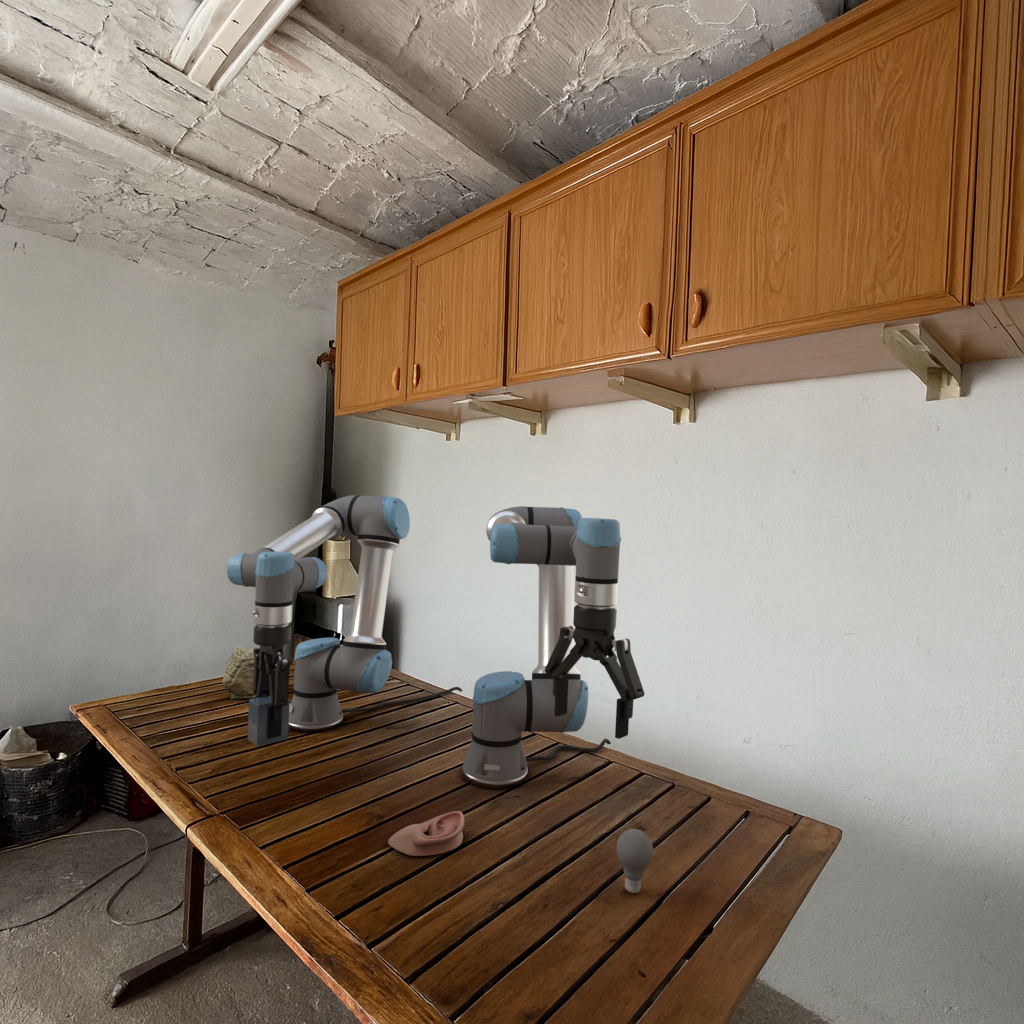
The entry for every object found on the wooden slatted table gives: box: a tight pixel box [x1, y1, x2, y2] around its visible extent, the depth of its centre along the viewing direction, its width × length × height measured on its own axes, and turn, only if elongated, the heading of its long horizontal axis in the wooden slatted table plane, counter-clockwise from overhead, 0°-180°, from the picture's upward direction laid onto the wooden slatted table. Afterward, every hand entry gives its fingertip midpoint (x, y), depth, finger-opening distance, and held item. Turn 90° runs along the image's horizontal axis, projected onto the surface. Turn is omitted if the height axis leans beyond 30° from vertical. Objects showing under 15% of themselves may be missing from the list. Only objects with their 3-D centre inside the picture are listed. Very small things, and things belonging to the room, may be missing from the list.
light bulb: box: [615, 828, 654, 894], centre depth 106 cm, size 6×6×10 cm
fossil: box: [222, 646, 276, 699], centre depth 198 cm, size 9×18×15 cm, turn 132°
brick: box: [247, 696, 291, 747], centre depth 135 cm, size 5×7×9 cm
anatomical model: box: [387, 810, 465, 857], centre depth 118 cm, size 13×4×12 cm
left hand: (268, 732), depth 135 cm, fingers closed on brick, 5 cm apart
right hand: (589, 725), depth 112 cm, fingers open, 13 cm apart
